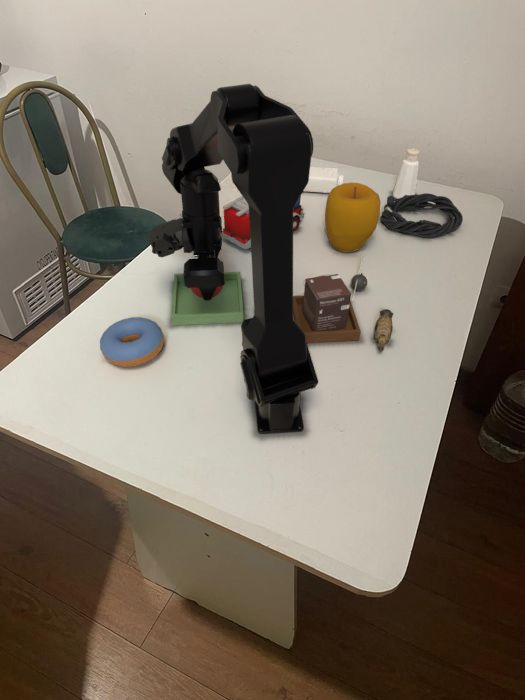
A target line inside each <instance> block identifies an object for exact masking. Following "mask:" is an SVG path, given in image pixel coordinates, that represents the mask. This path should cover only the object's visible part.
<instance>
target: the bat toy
mask: <svg viewBox="0 0 525 700" xmlns="http://www.w3.org/2000/svg"><path fill="white" fill-rule="evenodd" d="M364 256H365V254H364V253H362V256H361V258H362V259H361V263H360V265H362V264H363V259H364ZM359 268H360V269H359V272H358V274H355V275H354V276H352V278H351V280H350V285H351V287H352V289H353V290H354V291H353V294H352V296H353V297H352V299H351V302H352V301H353V300H354V297H355V293H356V291H358V292H359V291H363V290H364V289H365V290H366V288H367V286H368V279H367V277H366V276H365V275H364V274H363V272H361V268H362V266H360V267H359Z"/></svg>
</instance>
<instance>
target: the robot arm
mask: <svg viewBox="0 0 525 700" xmlns="http://www.w3.org/2000/svg"><path fill="white" fill-rule="evenodd" d="M313 153H314V138H313V135H312V132H311V130H310V128H309V127H308V125H307V124H306V123H305V122H304V121H303V120H302V118H301V117H300V116H299V115H298V113H296V112H295V110H294V109H293V108H292V107H291V106H288V105H287V104H285V103H282V102H280V101H278V100H277V99H274V98H271V97H269V96H267V95H265V94H264V92H263V90H261V88H259V86H257V85H253V84H252V83H244V84H236V85H229V86H221V87H218V88H216V90H213V91H211V94H210V100H209V102H208V103H207V104H206V105H205V107H204V108H203V109H202V110H201V112H200V113H199V114H198V115H197V116H196V117H195V119H194V120H193V121H192V122H191V123H188V124H182V125H178V126H176V127H173V128H172V129H170V132H169V137H167V139H166V146H165V148H164V151H163V153H162V157H161V160H162V163H161V170H162V173H163V175H164V176H165V178H166V179H167V180H168V182H169V183H170V185H171V186H172V187H173V189H174V190H175V192H177V194H180V196H181V206H182V207H181V208H182V210H181V217H179V218H176V219H170V220H168V221H164V222H162V223H160V224H157V225H154V226H153V227H152V228H151V229H150V231H149V232H150V233H149V238H148V241H149V243H150V246H151V253H152V254H154V255H157V256H158V258H165V257H168V256H171V255H174V254H175V252H177V251H180V250H182V249H183V253H184V254H192V256H193V258H189V259H187V260H186V261H185V262H184V263H183V273H182V274H183V277H184V286H185V287H187V288H199V289H200V292H201V294H202V296H203V299H204V300H205V301H209V300H211V298H212V296H213V294H214V292H215V290H216V288H217V287H221V286H223V285H224V272H225V266H224V265H225V264H224V261H223V260H221V259H220V258H219V255H220V252H221V251H222V247H223V237H222V236H221V234H222V231H223V222H222V216H221V209H220V208H221V207H220V193H219V192H221V190H222V188H221V187H222V186H221V184H220V182H219V179H218V177H217V175H215V174H214V173H213V171H211V170H208V169H207V167H211V166H217V165H220V164H222V162H223V163H224V164H225V165H226V167H227V168H228V170H229V172H230V174H231V180H232V183H233V185H234V187H236V189H237V190H238V192H239V193H240V195H241V196H243V197H244V199H245V200H246V201H247V203H248V206H249V220H250V238H251V247H250V255H251V273H252V274H251V275H252V291H253V310H254V314H253V316H252V317H249V318H246V319H244V320H243V322H241V325H240V330H241V337H242V339H241V346H242V350H241V351H240V356H239V358H240V362H239V364H240V367H241V372H242V377H243V381H244V384H245V388H246V398H247V400H251V401H253V402H254V408H255V419H256V430H257V433H258V434H261V435H265V434H267V435H268V434H281V433H282V434H283V433H284V434H285V433H299V432H300V433H301V432H303V431H304V429H305V428H304V427H305V426H304V419H303V414H302V409H301V404H300V403H301V393H303V392H305V391H309V390H313V389H315V388H316V387H317V386H318V384H319V378H318V375H317V372H316V369H315V366H314V362H313V358H312V356H311V351H310V348H309V346H308V343H306V336H305V334H304V333H303V331H302V330H301V329H300V328H299V326H298V325H297V324H296V322H295V321H294V317H293V296H294V232H293V209H294V206H295V204H296V203H297V201H298V199H299V197H300V196H301V197H302V194H303V193H304V192H305V191H304V189H305V187H306V186H307V184H308V181H309V173H310V167H311V163H312V157H313ZM302 192H303V193H302Z"/></svg>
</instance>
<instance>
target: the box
mask: <svg viewBox="0 0 525 700" xmlns="http://www.w3.org/2000/svg"><path fill="white" fill-rule="evenodd" d="M303 291H304V292H303V295H304V300H303V310H302V312H303V314H304V316H305V318H306V320H307V321H308V323H309V325H310V327H311V329H312V331H331V330H337V329H341V328H345V327H346V324H347V318H348V312H349V306H350V300H352V299H351V298H352V292H351V291H350V289H349V288H348V286H347V285H346V283H345V282H344V280H343V279H342V277H341V276H340V274H339V273H336V274H331V275H329V274H328V275H319V276H315V277H308V278H305V280H304V289H303Z"/></svg>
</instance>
